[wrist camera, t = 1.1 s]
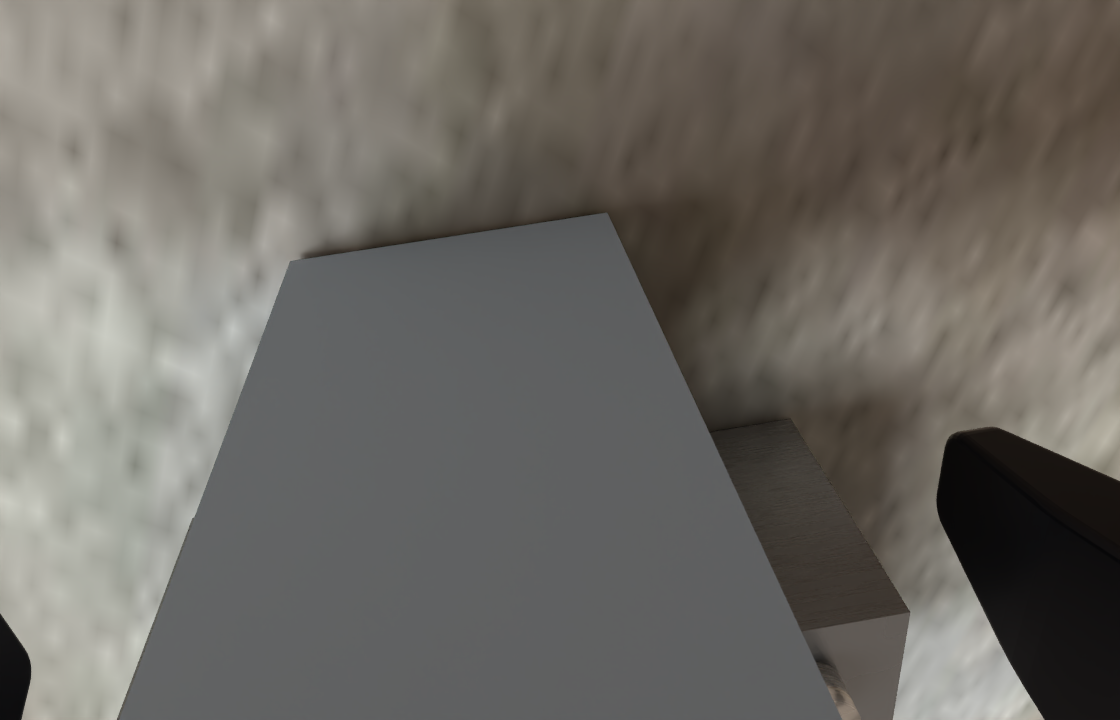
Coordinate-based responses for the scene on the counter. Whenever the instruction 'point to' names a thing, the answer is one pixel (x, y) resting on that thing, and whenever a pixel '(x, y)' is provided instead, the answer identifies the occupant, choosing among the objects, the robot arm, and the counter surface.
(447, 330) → the handle
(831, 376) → the counter surface
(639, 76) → the counter surface
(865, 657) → the housing
